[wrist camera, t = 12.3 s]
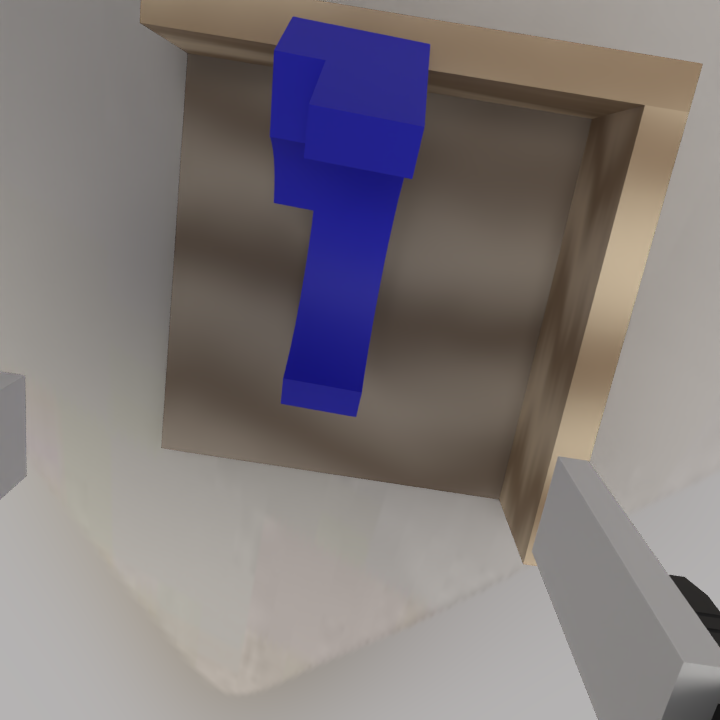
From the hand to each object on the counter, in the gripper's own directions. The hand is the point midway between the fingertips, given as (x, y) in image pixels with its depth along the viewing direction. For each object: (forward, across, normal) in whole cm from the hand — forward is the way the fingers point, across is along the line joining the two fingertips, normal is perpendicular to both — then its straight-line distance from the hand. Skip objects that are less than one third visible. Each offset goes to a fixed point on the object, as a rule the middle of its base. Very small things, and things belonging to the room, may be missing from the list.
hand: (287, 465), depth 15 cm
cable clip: (+12, 0, +6) cm, 13 cm away
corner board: (+15, +1, +1) cm, 15 cm away
